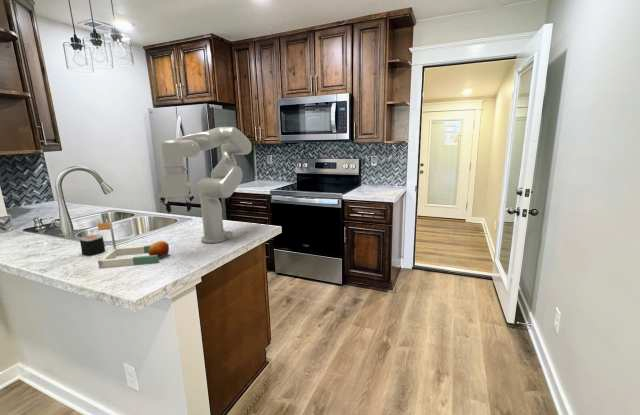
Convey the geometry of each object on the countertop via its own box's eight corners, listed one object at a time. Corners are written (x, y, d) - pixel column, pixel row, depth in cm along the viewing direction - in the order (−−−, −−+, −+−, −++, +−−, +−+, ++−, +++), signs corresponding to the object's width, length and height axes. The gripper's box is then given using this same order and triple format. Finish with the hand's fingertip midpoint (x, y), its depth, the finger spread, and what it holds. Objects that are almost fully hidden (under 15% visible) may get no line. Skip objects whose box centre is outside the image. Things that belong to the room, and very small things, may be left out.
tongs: (166, 250, 140) (162, 219, 136) (157, 262, 125) (152, 228, 122) (104, 255, 134) (98, 223, 131) (87, 269, 120) (80, 233, 116)
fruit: (165, 257, 127) (154, 241, 126) (152, 265, 129) (141, 250, 129) (177, 251, 135) (167, 235, 134) (165, 258, 137) (155, 243, 136)
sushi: (89, 257, 133) (86, 239, 131) (79, 254, 136) (75, 237, 135) (108, 251, 140) (106, 234, 138) (98, 248, 143) (95, 232, 142)
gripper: (197, 169, 132) (201, 208, 136) (154, 170, 128) (159, 210, 132) (195, 170, 125) (199, 212, 129) (148, 172, 121) (154, 215, 125)
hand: (179, 211), depth 130 cm, fingers open, 7 cm apart
